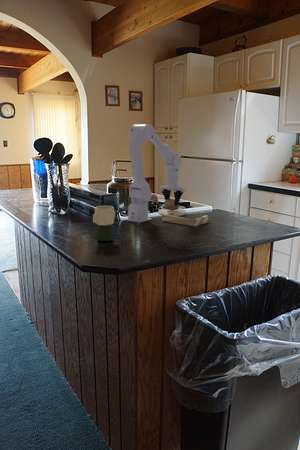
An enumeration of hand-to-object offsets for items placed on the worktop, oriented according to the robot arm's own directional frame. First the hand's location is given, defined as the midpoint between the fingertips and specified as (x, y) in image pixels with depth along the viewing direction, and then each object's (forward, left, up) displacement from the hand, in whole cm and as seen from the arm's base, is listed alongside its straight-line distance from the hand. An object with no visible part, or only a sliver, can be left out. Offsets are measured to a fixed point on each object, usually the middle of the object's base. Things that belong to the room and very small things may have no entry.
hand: (172, 204), depth 193 cm
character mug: (-58, -9, -5) cm, 59 cm away
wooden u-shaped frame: (-11, -15, -4) cm, 19 cm away
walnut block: (0, 0, -2) cm, 2 cm away
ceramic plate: (0, 0, -4) cm, 4 cm away
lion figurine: (+7, +22, -5) cm, 24 cm away
